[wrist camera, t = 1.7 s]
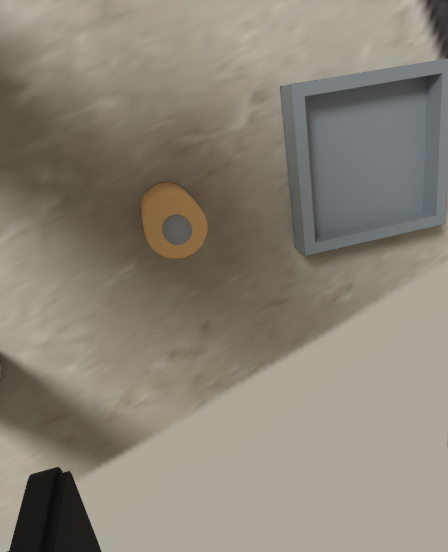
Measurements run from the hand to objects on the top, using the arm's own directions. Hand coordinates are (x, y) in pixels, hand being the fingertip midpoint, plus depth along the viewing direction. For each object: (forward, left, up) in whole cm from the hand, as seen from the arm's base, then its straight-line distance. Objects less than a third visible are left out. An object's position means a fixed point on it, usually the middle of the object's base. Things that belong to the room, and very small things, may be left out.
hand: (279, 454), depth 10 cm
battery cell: (0, 0, -28) cm, 28 cm away
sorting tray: (-1, +18, -28) cm, 34 cm away
